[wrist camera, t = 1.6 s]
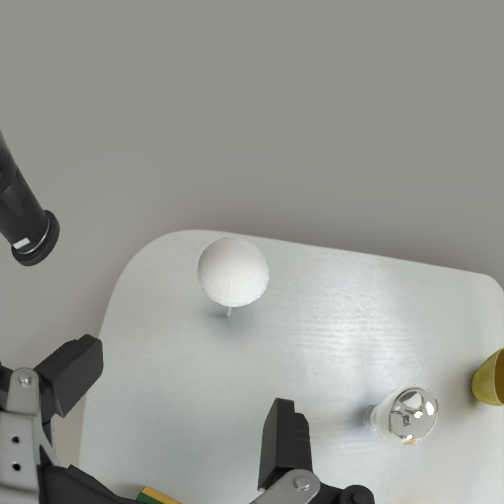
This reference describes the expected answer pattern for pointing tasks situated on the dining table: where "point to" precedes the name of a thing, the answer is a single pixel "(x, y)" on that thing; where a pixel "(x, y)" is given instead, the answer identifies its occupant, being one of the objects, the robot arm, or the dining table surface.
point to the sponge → (154, 497)
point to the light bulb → (403, 415)
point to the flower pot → (490, 380)
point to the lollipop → (233, 272)
